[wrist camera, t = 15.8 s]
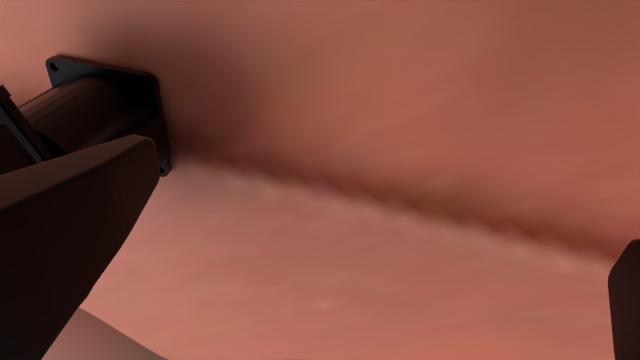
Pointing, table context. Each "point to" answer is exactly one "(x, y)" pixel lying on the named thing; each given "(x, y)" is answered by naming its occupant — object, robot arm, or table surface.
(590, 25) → the table surface
